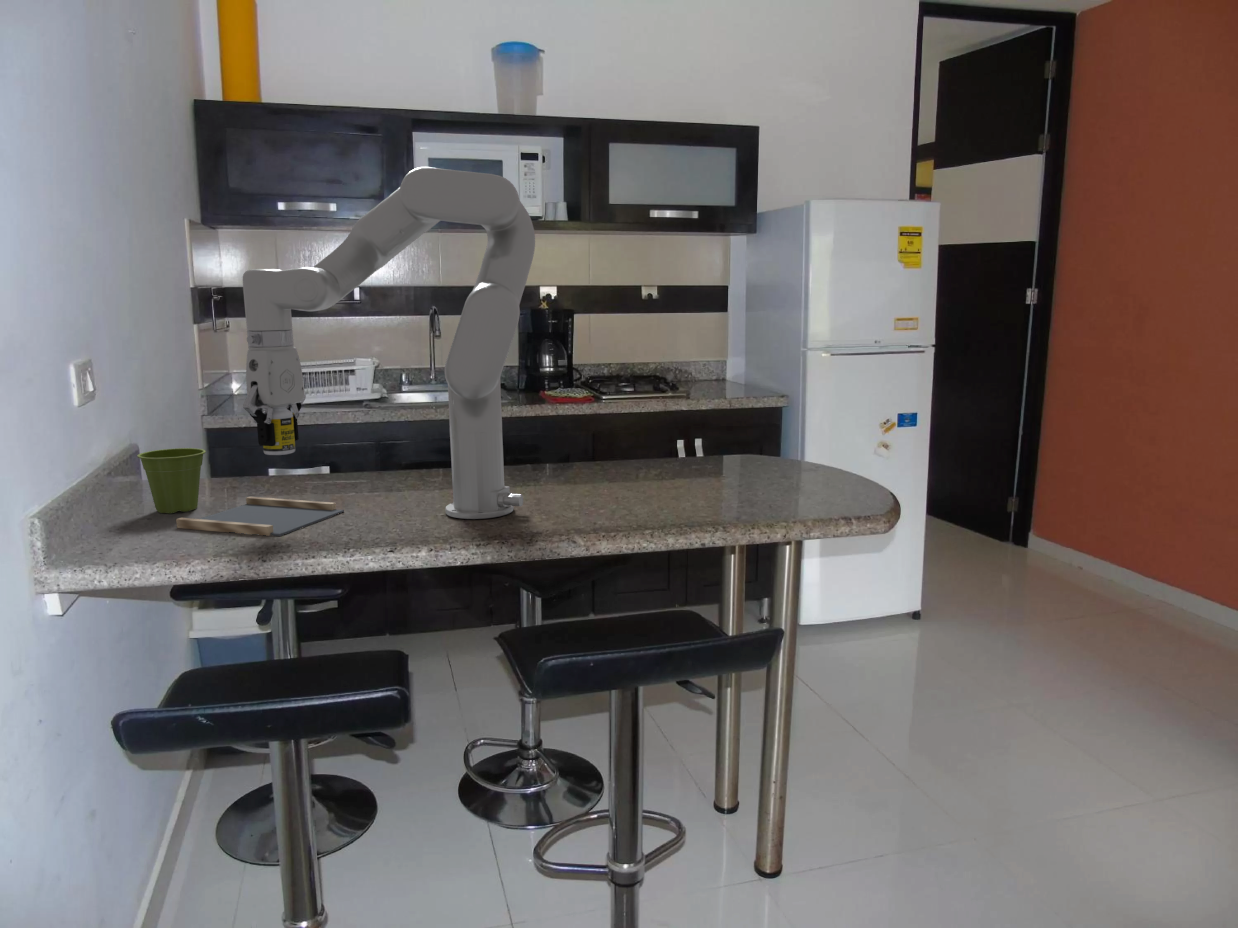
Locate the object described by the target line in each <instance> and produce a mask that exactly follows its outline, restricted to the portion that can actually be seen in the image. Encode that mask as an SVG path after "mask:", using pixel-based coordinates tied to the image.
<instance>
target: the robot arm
mask: <svg viewBox="0 0 1238 928" xmlns="http://www.w3.org/2000/svg"><path fill="white" fill-rule="evenodd" d="M441 221H442V222H447V223H448V222H449V223H458V224H468V225H469V224H470V225H478V226H481V227H483V228H484V229H485V232H486V235H487V246H486V249H485V252H484V254H483V255H484V256H483V258H482V262H481V265H480V268H479V272H478V275H477V277H476V280H475V283H474V286H473V288H472V291H471V292H470V293H469V294H468V296H467V297H466V300H465V302H464V305H463V308H462V311H461V314H460V317H459V320H458V321H459V322H458V324H457V327H456V329H455V333H454V336H453V339H452V343H451V346H450V349H449V351H448V355H447V358H446V361H445V364H444V377H445V381H446V384H447V395H448V418H449V419H448V421H449V437H450V438H449V439H450V441H449V442H450V458H451V459H450V461H451V477H452V479H451V481H452V496H453V497H452V498H453V500H452V501H453V502H451V503H449V504H448V505H446V506H445V514H446V515H447V516H449V517H451V518H455V519H463V520H464V519H465V520H481V519H493V518H498V517H502V516H506V515H509V514H510V513H512V512H513V511H514V507H522V506H523V504H524V497H523V494H522V493H521V494H520V493H511V492H510V490H511V489H510V486H508V485H505V473H504V471H505V470H504V469H505V468H504V445H503V444H504V443H503V419H502V418H503V417H502V415H503V414H502V394H501V393H502V392H501V391H502V390H501V389H502V388H501V375H502V373H503V369H504V367H505V365H506V364H505V363H506V362H507V361H506V360H507V358H508V355H509V353H510V349H511V345H512V343H513V340H514V337H515V333H516V330H517V327H518V323H519V320H520V315H521V312H520V304H521V301H522V298H523V297H522V296H523V293H524V290H525V288H526V285H527V281H528V278H529V274H530V270H531V266H532V263H533V259H534V255H535V250H536V249H535V247H536V234H535V229H534V225H533V221H532V219H531V216H530V214H529V212H528V211H527V209H526V207H525V206H524V204H523V203H522V201H521V200H520V197H519V193H518V190H517V189H516V187H515V185H514V184H513V183H512V182H511V181H510V180H508V179H507V178H505V177H504V176H501V175H497V174H494V173H486V172H485V173H484V172H476V171H475V172H474V171H464V170H457V169H455V170H454V169H447V168H440V167H439V168H438V167H431V166H420V167H416V168H414V169H412V170H410V171H409V172H407V174H406V175H405V176H404V177H403V179H402V180H401V184H400V186H399V187H398V188H397V189H396V190H394V191H393V192H392V193H391V194H389V195H388V196H387V197H385V199H383V200H382V201H381V202H379V203H378V204H376V205H375V206H374V207H373V208H372V209H370V210H369V211H367V213H365V214H364V215H362V216H361V217H360V218H359V219H358V220H357V221H356V222H355V223H354V224H353V226H352V228H351V230H350V232H349V234H348V235H347V236H346V238H345V239H344V240H343V242H342V243H340V244H339V245H338V246H337V247H336V248H335V249H334V250H333V251H331V252H330V253H329V254H328V255H327V256H325V257H324V258H323V259H321V260H320V261H319V262H317V263H316V264H315V265H314V266H311V267H310V266H307V267H299V268H297V267H296V268H291V269H283V270H282V269H277V268H257V269H256V268H252V269H247V270H245V271H244V273H243V275H242V291H243V292H242V293H243V302H244V312H245V321H246V322H245V324H246V326H245V327H246V335H247V336H246V343H247V346H248V348H247V351H246V352H247V353H246V364H245V365H246V367H245V377H246V378H245V379H246V380H245V383H246V394H247V396H246V399H245V400H244V403H243V404H242V408H243V409H244V410H245V411H246V412H247V413H248V414H249V415H250V417H251V418H252V419H253V422H254V424H256V429H257V439H258V445H259V446H261V447H263V446H275V444H276V442H275V430H274V423H271V418H272V411H273V407H278V406H284V405H288V407H287V410H290V411H291V412H292V413H293V423H294V437H295V442H296V441H298V440H299V426H298V418H300V410H301V409H302V407H303V404H304V403H305V400H306V399H307V396H306V394H305V385H304V377H303V370H302V369H303V368H302V365H301V361H300V360H301V359H300V356H299V353H298V349H297V347H295V345H294V333H293V332H294V330H293V318H292V310H296V311H303V312H317V311H324V310H328V309H329V308H331V307H333V306H335V305H336V304H337V303H339V302H340V301H341V300H342V299H344V298H345V297H346V296H347V295H349V294H350V293H351V292H352V291H354V290H355V289H357V288H358V287H359V286H360V285H361V284H363V283H364V282H365V281H366V280H367V279H369V277H371V276H372V275H373V274H374V273H375V272H377V271H379V270H381V268H383V267H384V266H386V265H387V264H388V263H389V262H390V261H391V260H393V259H394V258H395V257H397V256H398V255H399V254H400V253H402V251H403V250H405V249H407V247H408V246H410V245H411V244H413V243H414V242H415V241H416V240H417V239H419V237H421V236H422V235H424V234H425V233H427V232H429V230H431V229H432V228H433V227H435V226H436V225H437V224H438V223H439V222H441ZM264 404H267V405H264ZM263 410H264V411H265V414H264V413H263V412H264V411H263Z"/></svg>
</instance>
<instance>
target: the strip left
mask: <svg viewBox="0 0 1238 928" xmlns="http://www.w3.org/2000/svg"><path fill="white" fill-rule="evenodd" d="M175 521H176V528H177V529H185V530H194V531H195V530H196V531H197V530H198V531H207V532H218V533H219V532H220V533H229V532H235V533H234V534H241V533H244V534H245V535H252V534H259V535H258V536H263V535H266V537H269V536H271V535H270V533H272V532H273V525H264V524H252V523H240V522H228V521H216V520H204V519H200V518H192V517H191V518H188V517H179V518H175ZM246 533H247V534H246ZM244 534H243V535H244Z"/></svg>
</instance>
